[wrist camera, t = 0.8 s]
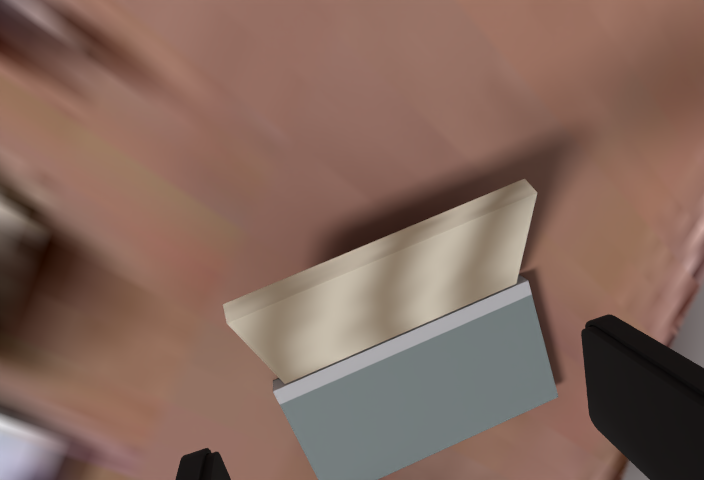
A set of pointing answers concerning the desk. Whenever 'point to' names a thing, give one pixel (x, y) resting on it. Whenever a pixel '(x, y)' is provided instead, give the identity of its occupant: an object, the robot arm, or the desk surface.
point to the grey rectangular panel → (422, 389)
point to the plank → (387, 285)
